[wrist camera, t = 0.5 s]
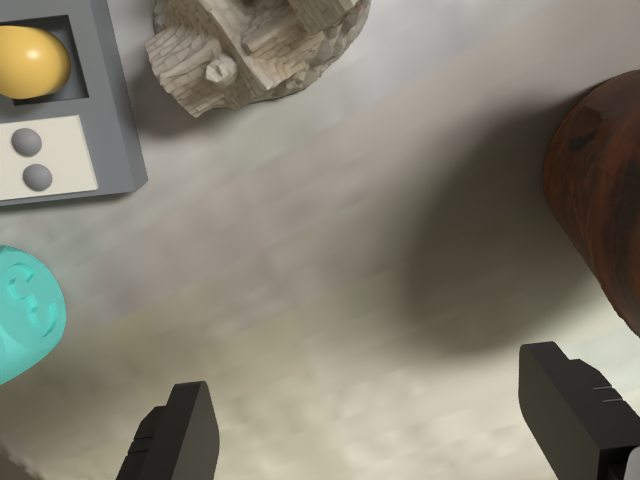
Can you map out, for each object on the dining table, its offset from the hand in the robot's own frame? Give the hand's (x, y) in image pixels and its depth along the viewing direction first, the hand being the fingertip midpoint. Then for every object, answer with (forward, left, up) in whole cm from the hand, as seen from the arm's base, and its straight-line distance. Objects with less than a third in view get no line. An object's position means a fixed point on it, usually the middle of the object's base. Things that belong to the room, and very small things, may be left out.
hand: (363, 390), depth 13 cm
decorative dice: (+8, -27, -27) cm, 39 cm away
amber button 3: (-9, -18, -24) cm, 31 cm away
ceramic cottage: (-13, -4, -27) cm, 31 cm away
